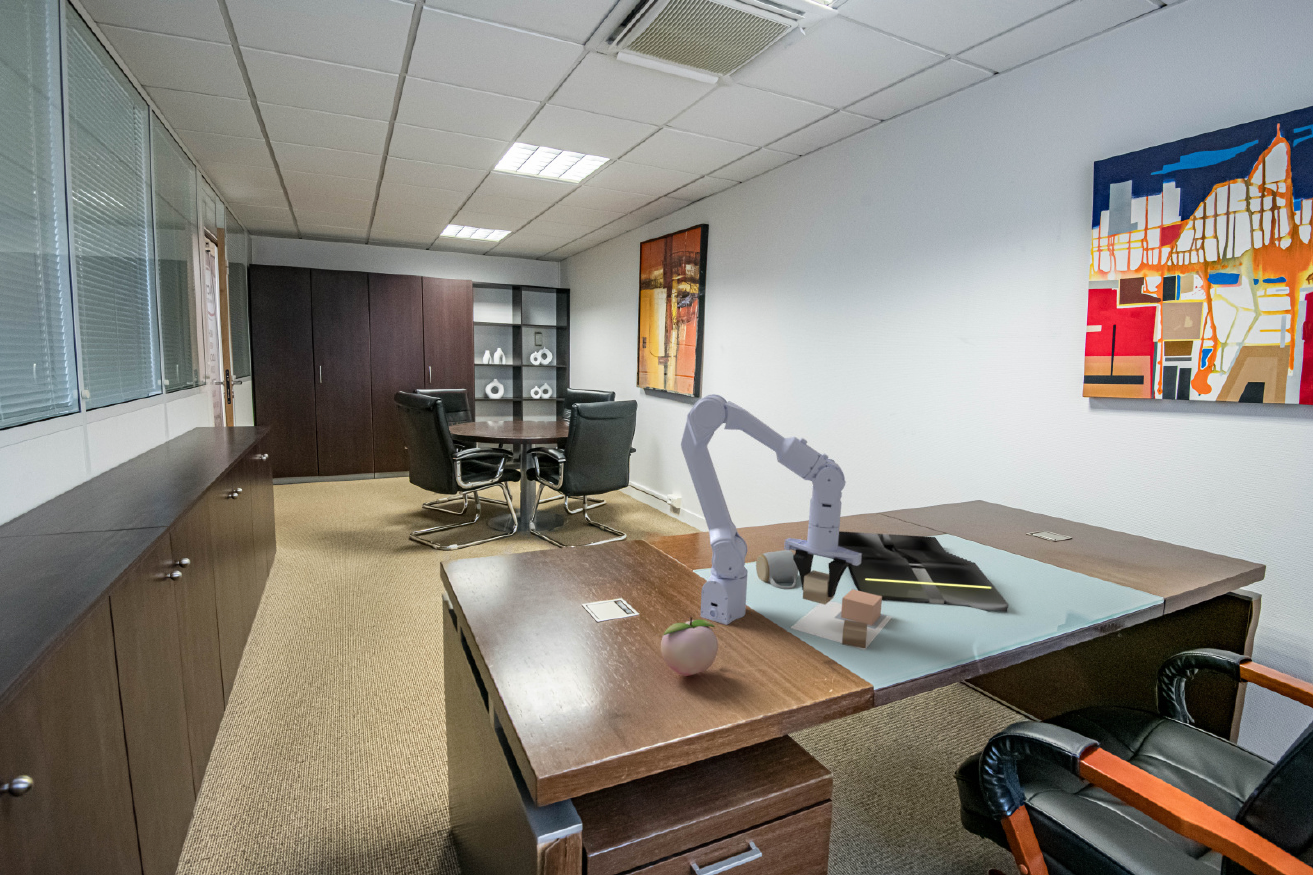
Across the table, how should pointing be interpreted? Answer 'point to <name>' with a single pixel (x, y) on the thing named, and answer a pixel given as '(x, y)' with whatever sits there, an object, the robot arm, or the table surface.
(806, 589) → the maple block
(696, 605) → the table surface
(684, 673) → the decorative fruit
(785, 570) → the ceramic mug
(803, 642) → the table surface
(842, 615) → the terracotta block
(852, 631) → the block
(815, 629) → the mat
